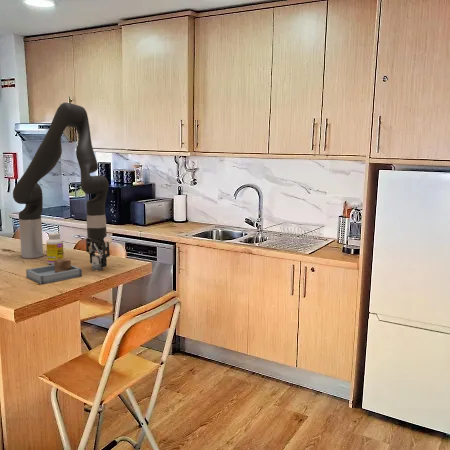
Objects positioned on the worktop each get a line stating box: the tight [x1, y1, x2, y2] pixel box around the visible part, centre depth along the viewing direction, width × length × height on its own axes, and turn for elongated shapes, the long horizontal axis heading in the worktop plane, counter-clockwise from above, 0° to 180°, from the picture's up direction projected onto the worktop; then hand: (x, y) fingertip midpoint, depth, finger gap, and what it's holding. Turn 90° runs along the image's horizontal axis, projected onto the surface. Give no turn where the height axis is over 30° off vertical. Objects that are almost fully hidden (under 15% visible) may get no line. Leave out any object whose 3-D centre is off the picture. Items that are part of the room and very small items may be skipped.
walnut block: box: [54, 257, 72, 273], centre depth 184 cm, size 4×4×5 cm
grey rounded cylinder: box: [91, 254, 105, 272], centre depth 193 cm, size 4×4×6 cm
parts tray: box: [25, 264, 83, 285], centre depth 182 cm, size 13×16×3 cm
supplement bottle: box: [45, 232, 65, 265], centre depth 202 cm, size 7×7×13 cm
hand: (98, 265), depth 193 cm, fingers open, 8 cm apart
